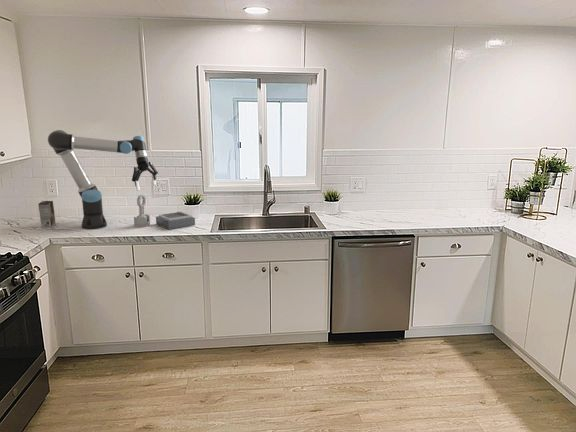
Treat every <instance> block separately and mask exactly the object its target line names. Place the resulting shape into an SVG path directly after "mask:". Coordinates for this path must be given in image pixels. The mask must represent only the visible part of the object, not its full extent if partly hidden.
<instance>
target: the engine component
mask: <svg viewBox="0 0 576 432" xmlns="http://www.w3.org/2000/svg"><path fill="white" fill-rule="evenodd" d="M141 200H142V202H141ZM136 203H137V205H136V206H138V208H139V210H138V211H139V213H138V215H137V216H133V225H134V227H136V228H146V226H147V227H150V226H151V221H150V220H151V219H150V214H146V213H145V205H146V203H147V198H146V196H145V195H144V194H140V195H138V196H137V199H136ZM149 225H150V226H149Z"/></svg>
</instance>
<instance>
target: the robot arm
mask: <svg viewBox="0 0 576 432" xmlns="http://www.w3.org/2000/svg"><path fill="white" fill-rule="evenodd" d="M47 142H48V145H49V146H50V147H51V148H52V149H53V150H54V152H55V154H56V155H57V156H59V157H60V158H61V160H62V161H63V163H64V165H65V167H66V168H67V170H68V172H69V175H70V176H71V177H72V179H73V181H74V183H75V185H76V186H77V187H78V191H77V192H78V194H79V196H80V197H81V203H82V211H83V218H82V220H81V228H82V229H84V230H97V229H102V228H105V227H107V226H108V223H107V220H106V218H105V215H104V210H103V197H102V192H101V191H100V190H99V188H98V187H97V186H96V184H95V183H92V182H91V180H90V178H89V176H88V174H87V172H86V171H85V169H84V167H83V165H82V163H81V162H80V160H79V158H78V156H77V154H76V152H75V151H74V149H75V150H87V151H95V152H97V151H99V152H108V153H109V152H110V153H118V154H119V153H120V154H125V155H126V154H127V155H128V154H130V153H131V152H134V154H135V160H136V165H137V166H134V167H133V174H132V177H131V182H132V183H133V182H134V185H135V188H136V191H139V192H140V191H141V187H140V178H141V175H142V174H143V173H144V172H149V174H151V180H152V186H153V185H154V186H157V174H158V175H159V172H158V170H157V169H156V168H155V165H154V164H153V162H152V161H149V160H148V159H149V158H148V151H147V146H146V141H145V137H143V136H142V135H136V136H133V137H132V139H130V140H129V139H127V140H112V139H111V140H110V139H104V138H103V139H102V138H94V137H83V136H75V135H74V134H71V133H68V132H66V131H64V130H61V129H57V130H53V131H52V132H50V134H49V135H48V137H47Z"/></svg>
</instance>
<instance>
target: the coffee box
mask: <svg viewBox="0 0 576 432" xmlns="http://www.w3.org/2000/svg"><path fill="white" fill-rule="evenodd" d="M37 205H38V212H39V219H40V221H39V222H40V228H42V229H45V228H47V229H48V228H49V229H50V228H53V227H54V226H55V225H56V216H55V209H54V201H53V200H42V201H40V202H39V203H38V204H37Z"/></svg>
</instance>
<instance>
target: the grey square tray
mask: <svg viewBox="0 0 576 432" xmlns="http://www.w3.org/2000/svg"><path fill="white" fill-rule="evenodd" d="M155 222H156V223H155V224H156V225H158V226H160V227H163V228H165V229H167V230H174V229H181V228H187V227H192V226H195V225H196V218H195V217H193V216H192V215H191V214H188V213H186V212H183V211H176V212H175V211H174V212H170V213H169V212H168V213H167V212H166V213H162V214H158V216H155Z"/></svg>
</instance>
